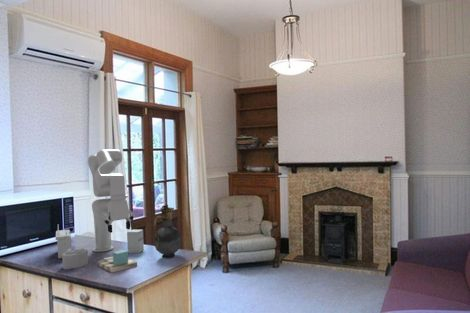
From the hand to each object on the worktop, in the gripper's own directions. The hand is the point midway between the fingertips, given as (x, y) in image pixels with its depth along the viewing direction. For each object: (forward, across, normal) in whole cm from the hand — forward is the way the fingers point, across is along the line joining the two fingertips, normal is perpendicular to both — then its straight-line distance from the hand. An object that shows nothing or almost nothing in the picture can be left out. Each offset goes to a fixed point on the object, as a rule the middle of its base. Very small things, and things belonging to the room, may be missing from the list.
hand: (119, 230), depth 192 cm
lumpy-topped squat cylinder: (+20, +16, -24) cm, 34 cm away
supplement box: (+19, -20, -23) cm, 36 cm away
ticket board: (+19, 0, -5) cm, 20 cm away
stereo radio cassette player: (+19, +13, -51) cm, 56 cm away
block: (+17, 0, 0) cm, 17 cm away
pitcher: (+20, -26, +3) cm, 33 cm away
